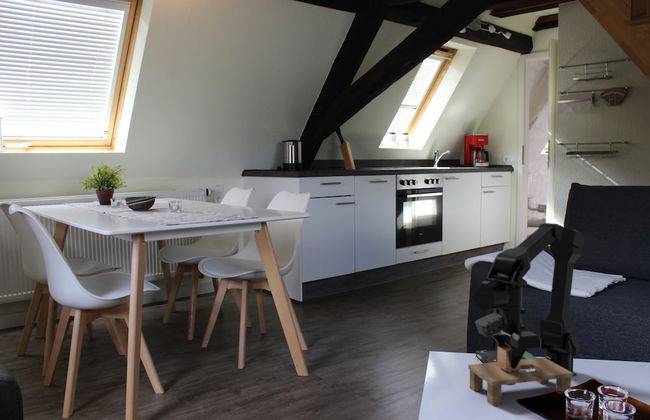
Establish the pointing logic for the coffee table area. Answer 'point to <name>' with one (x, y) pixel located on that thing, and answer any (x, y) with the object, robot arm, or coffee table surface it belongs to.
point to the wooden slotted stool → (517, 376)
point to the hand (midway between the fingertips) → (508, 365)
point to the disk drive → (492, 355)
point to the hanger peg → (505, 360)
